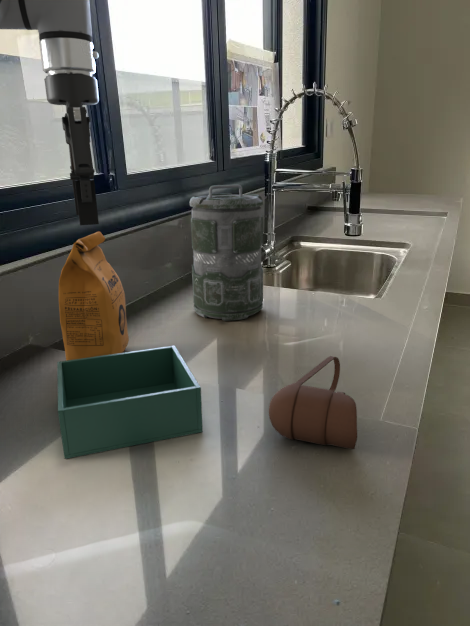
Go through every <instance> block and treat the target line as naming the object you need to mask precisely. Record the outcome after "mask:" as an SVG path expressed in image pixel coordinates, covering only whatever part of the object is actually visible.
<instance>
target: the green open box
mask: <svg viewBox="0 0 470 626" xmlns="http://www.w3.org/2000/svg"><path fill="white" fill-rule="evenodd" d="M56 366H57V367H56V368H57V369H56V370H57V374H56V375H57V415H58V422H59V430H60V436H61V442H62V450H63V456H64V457H63V458H64V459H65V460H67V459H72V458H78V457H82V456H87V455H92V454H97V453H102V452H108V451H112V450H117V449H123V448H129V447H134V446H138V445H143V444H148V443H154V442H158V441H164V440H168V439H173V438H179V437H183V436H189V435H195V434H199V433H203V431H204V430H203V407H202V406H203V405H202V404H203V403H202V387H201V385H200V384H199V382H198V380H197V379H196V378H195V375H194V374H193V373H192V371H191V369H190V367H189V366H188V365H187V363H186V361H185V360H184V358H183V357H182V355H181V353H180V352H179V350H178V349H177V347H176V346H175V345H169V346H162V347H155V348H147V349H140V350H133V351H126V352H125V351H124V352H123V353H118V354H110V355H103V356H96V357H88V358H81V359H74V360H67V361H66V360H59V361H57V362H56Z"/></svg>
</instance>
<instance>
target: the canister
mask: <svg viewBox="0 0 470 626" xmlns="http://www.w3.org/2000/svg"><path fill="white" fill-rule="evenodd" d="M215 189H238V194H233V193H232V192H227V193H221V192H220V193H213V190H215ZM188 204H189V207H190V208H191V218H190V233H191V234H190V235H191V248H192V254H193V255H192V257H193V264H191V277H192V299H193V301H192V302H193V310H194V312H195V313H196V314H197V315H198V316H200V317H202V318H205V319H207V318H211V319H216V320H222V321H223V322H230V321H231V322H232V321H233V322H234V321H241V320H247V319H248V318H249V317H251V316H253V315H255V314H257V313H259V312H260V311H261V310H262V309H263V306H264V304H263V302H264V269H263V265H262V246H263V244H264V240H263V239H264V217H263V215H262V206H263V205H264V199H263V198H262V196H260V195H259V194H256V193H255V194H254V193H247V194H243V186H242V185H240V184H223V185H222V184H217V185H211V186H210V187H209V189H208V195H200V196H196V197H195V196H192V197H191V198H190V200H189V203H188Z"/></svg>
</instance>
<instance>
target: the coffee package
mask: <svg viewBox="0 0 470 626" xmlns="http://www.w3.org/2000/svg"><path fill="white" fill-rule="evenodd" d="M105 240H106V237H105V236H104V235H103V234H102V232H101V231H96V232H94V233H91V234H88V235H86V236H84V237H81V238H78V239H77V240H76V241H75V242H73V245H72V248H71V250H70V253H69V254H68V256H67V258H66V260H65V263H64V264H63V267H62V269H61V272H60V275H59V278H58V311H59V323H60V328H61V334H62V341H63V346H64V353H65V361H67V360H74V359H81V358H88V357H96V356H103V355H110V354H118V353H125V350H126V348H127V347H128V344H129V341H130V338H129V332H128V330H129V329H128V322H127V309H126V308H127V306H126V305H127V304H126V294H125V293H126V292H125V291H124V290H125V289H124V287H123V284H122V281H121V279H120V277H119V275H118V274H117V272H116V271H115V270H114V267H112V265H111V264H110V263H109V262H108V261H107V259H106V256H105V254H104V251H103V249H102V248H101V247H100V244H102V243H104V242H105Z"/></svg>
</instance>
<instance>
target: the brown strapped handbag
mask: <svg viewBox="0 0 470 626" xmlns="http://www.w3.org/2000/svg"><path fill="white" fill-rule="evenodd" d="M332 361H333V362H334V369H333V378H332V381H331V385H330V387H329V389H328V388H322V387H316V386H311V385H310V386H309V385H304V384H305V383H306V382H307V381H309V380H310V379H311V378H312V377H313V376H315V375H316V374H317V373H318V372H320V371H321V370H322V369H323V368H325V367H326V366H327V365H328V364H330V362H332ZM340 373H341V363H340V359H339V357H337V356H333V355H330V356H328V357H326V358H325V359H324V360H322V361H321V362H320V363H318V364H317V365H316V366H315V367H313V368H312V369H311V370H310V371H309V372H307V373H305V374H304V375H303V376H302V377H300V378H299V379H298V380H297V381H296V382H292V383H290V384H287V385H284V386H283V387H282V388H280V389H278V390H277V391H276V392H275V394H274V395H273V396H272V397H271V399H270V402H269V405H268V417H269V421H270V423H271V425H272V427H273V429H274V430H275V431H276V432H277V433H278V434H280V436H282V437H285V438H286V439H289V440H293V441H294V440H298V441H303V442H307V443H312V444H316V445H322V446H327V445H330V446H334V447H339V448H343V449H344V448H345V449H349V450H355V448H356V446H357V445H356V444H357V441H358V411H357V404H356V401H355V399H354V398H352V397H351V396H350V395H348V394H346V392H342V391H336V389H337V386H338V383H339V379H340Z"/></svg>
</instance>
